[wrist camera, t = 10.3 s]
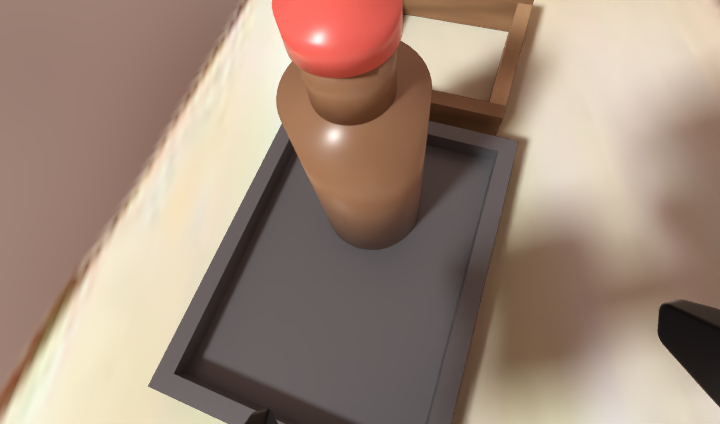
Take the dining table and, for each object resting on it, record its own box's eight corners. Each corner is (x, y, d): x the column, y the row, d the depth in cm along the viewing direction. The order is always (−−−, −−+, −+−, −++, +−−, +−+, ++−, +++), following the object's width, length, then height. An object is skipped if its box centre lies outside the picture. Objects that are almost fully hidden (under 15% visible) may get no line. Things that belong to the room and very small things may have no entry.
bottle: (403, 261, 17) (407, 95, 7) (314, 234, 18) (198, 52, 8) (429, 179, 19) (465, -61, 8) (346, 157, 20) (285, -80, 9)
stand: (493, 140, 20) (502, 118, 19) (342, 105, 22) (337, 81, 20) (524, 24, 23) (534, -5, 22) (388, 2, 25) (387, -27, 23)
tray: (425, 500, 14) (429, 517, 13) (171, 384, 17) (147, 386, 15) (508, 160, 20) (518, 141, 18) (306, 111, 22) (298, 90, 21)
